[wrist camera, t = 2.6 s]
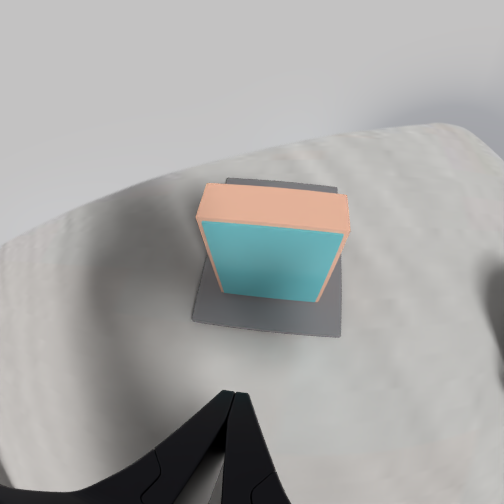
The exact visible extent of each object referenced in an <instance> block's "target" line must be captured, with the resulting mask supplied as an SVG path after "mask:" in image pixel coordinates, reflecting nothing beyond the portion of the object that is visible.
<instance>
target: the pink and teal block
mask: <svg viewBox="0 0 504 504" xmlns="http://www.w3.org/2000/svg"><path fill="white" fill-rule="evenodd" d="M196 220H197V223H198V226H199V229H200V232H201V235H202V238H203V241H204V244H205V247H206V249H207V252H208V255H209V258H210V261H211V264H212V267H213V270H214V272H215V275H216V278H217V281H218V284H219V287H220V289H221V292H224V293H230V294H238V295H247V296H256V297H265V298H274V299H284V300H295V301H306V302H318V301H319V299H320V297H321V295H322V293H323V291H324V289H325V287H326V285H327V283H328V281H329V278H330V276H331V274H332V272H333V270H334V268H335V265H336V263H337V261H338V259H339V256H340V254H341V252H342V250H343V247H344V245H345V243H346V240H347V238H348V236H349V233H350V220H349V209H348V199H347V195H343V194H335V193H327V192H318V191H309V190H299V189H288V188H277V187H264V186H251V185H234V184H215V183H207V184H206V187H205V190H204V193H203V196H202V199H201V202H200V205H199V208H198V211H197V214H196Z"/></svg>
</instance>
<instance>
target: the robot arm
mask: <svg viewBox="0 0 504 504" xmlns="http://www.w3.org/2000/svg"><path fill="white" fill-rule="evenodd" d="M154 449H155V450H154ZM154 449H152V450H151V451H150V452H149V453H147V454H146V455H145V456H143V457H142V458H140V459H139V460H138V461H136V462H135V463H133V464H132V465H130V466H128V467H127V468H125V469H123V470H121V471H120V472H118V473H116V474H114V475H112V476H110V477H108V478H106V479H104V480H102V481H100V482H98V483H96V484H94V485H91V486H89V487H87V488H85V489H82V490H78V491H73V492H45V491H32V490H23V489H15V488H10V487H6V486H3V485H1V484H0V504H208V503H209V500H210V498H211V495H212V492H213V490H214V487H215V484H216V482H217V479H218V476H219V473H220V471H221V468H222V465H223V462H224V469H223V483H222V498H221V504H291V502H290V501H289V499H288V497H287V495H286V493H285V491H284V489H283V487H282V484H281V482H280V480H279V477H278V475H277V472H275V471H276V470H275V467H274V464H273V462H272V459H271V456H270V454H269V451H268V448H267V445H266V443H265V440H264V437H263V434H262V431H261V428H260V426H259V423H258V420H257V417H256V414H255V411H254V408H253V405H252V402H251V399H250V396H249V394H248V393H242V392H236V393H235V392H234V391H227V390H222V391H221V392H220V393H219V394H217V395H216V396H215V397H214V398H213V399H212V400H211V401H210V402H209V403H207V404H206V405H205V406H204V407H203V408H202V409H201V410H200V411H198V412H197V413H196V414H195V415H194V416H193V417H192V418H190V419H189V420H188V421H187V422H186V423H185V424H183V425H182V426H181V427H180V428H179V429H177V430H176V431H175V432H174V433H173V434H171V435H170V436H169V437H168V438H166V439H165V440H164V441H163V442H161V443H160V444H159V445H158V446H156V447H155V448H154Z"/></svg>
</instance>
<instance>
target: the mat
mask: <svg viewBox="0 0 504 504" xmlns="http://www.w3.org/2000/svg"><path fill="white" fill-rule="evenodd" d="M226 184H234V185H251V186H264V187H277V188H288V189H299V190H309V191H318V192H327V193H335V194H337V187H330V186H321V185H312V184H303V183H293V182H281V181H269V180H255V179H239V178H227V182H226ZM341 303H342V280H341V254H340V256H339V259H338V261H337V263H336V265H335V268H334V270H333V272H332V274H331V276H330V278H329V281H328V283H327V285H326V287H325V289H324V291H323V293H322V295H321V297H320V299H319V301H318V302H306V301H295V300H284V299H274V298H265V297H256V296H247V295H238V294H230V293H224V292H221V289H220V287H219V284H218V281H217V278H216V275H215V272H214V270H213V267H212V264H211V261H210V258H209V255H208V253H207V257H206V261H205V265H204V269H203V273H202V277H201V281H200V285H199V290H198V294H197V298H196V302H195V307H194V311H193V316H192V321H194V322H200V323H206V324H212V325H219V326H226V327H233V328H241V329H249V330H257V331H266V332H275V333H285V334H296V335H308V336H322V337H340V336H341Z"/></svg>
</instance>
